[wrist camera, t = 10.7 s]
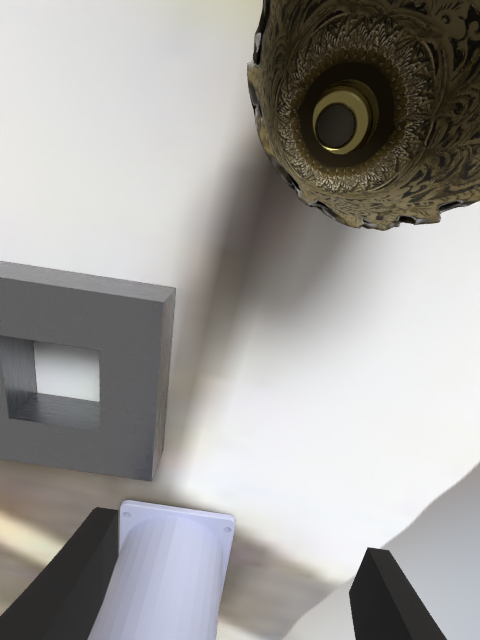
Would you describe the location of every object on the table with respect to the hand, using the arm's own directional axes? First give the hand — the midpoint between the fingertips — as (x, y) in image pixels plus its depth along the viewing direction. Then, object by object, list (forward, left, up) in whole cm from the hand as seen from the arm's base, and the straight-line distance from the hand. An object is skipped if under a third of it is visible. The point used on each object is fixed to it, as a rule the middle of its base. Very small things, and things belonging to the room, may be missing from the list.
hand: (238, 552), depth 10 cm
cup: (+13, -2, -11) cm, 17 cm away
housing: (-1, +10, -10) cm, 14 cm away
